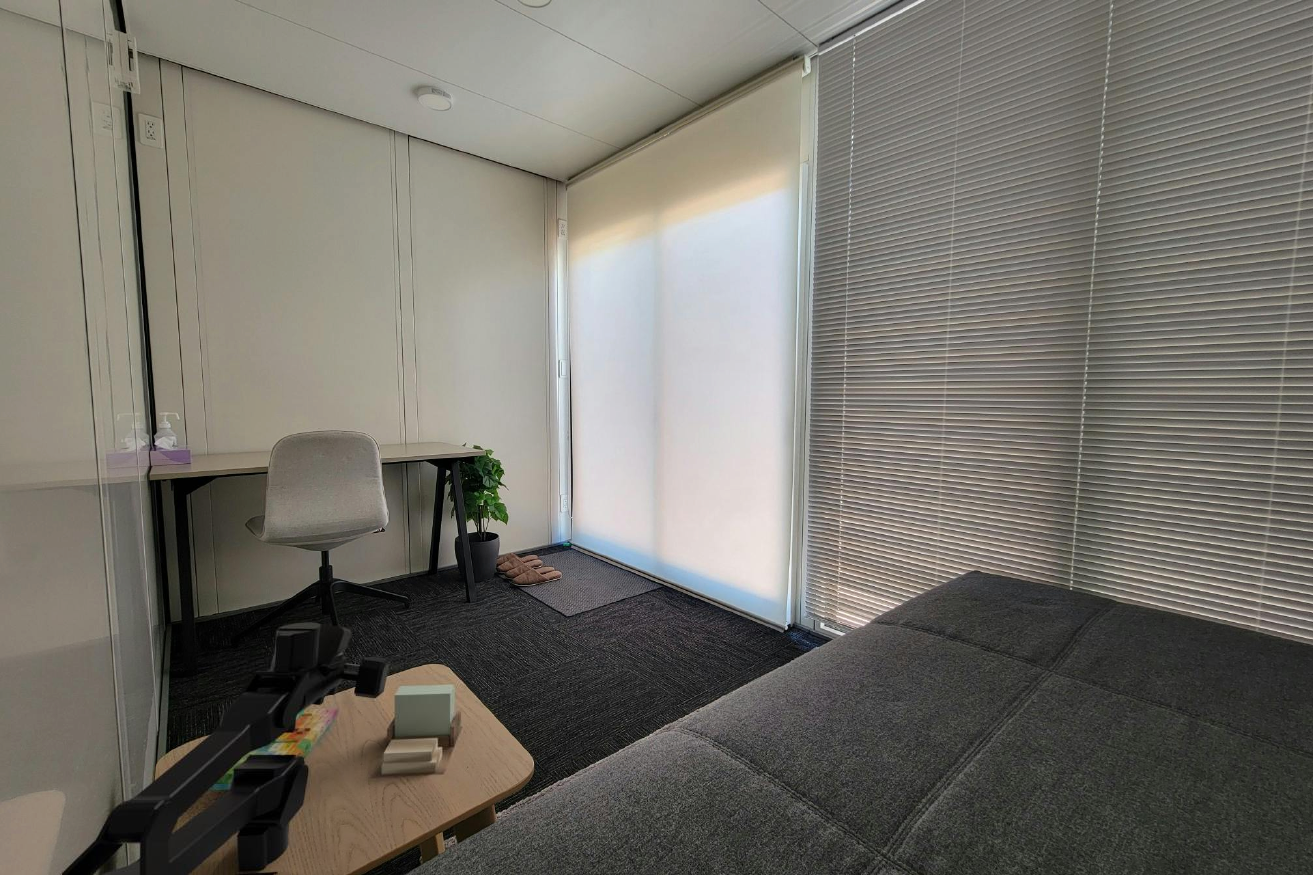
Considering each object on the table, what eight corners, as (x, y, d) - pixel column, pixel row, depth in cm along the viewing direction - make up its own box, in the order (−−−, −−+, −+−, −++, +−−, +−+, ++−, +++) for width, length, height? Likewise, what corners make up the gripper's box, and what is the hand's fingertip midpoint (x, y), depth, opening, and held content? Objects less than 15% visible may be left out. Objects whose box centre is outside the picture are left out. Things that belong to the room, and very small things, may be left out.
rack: (443, 778, 92) (443, 751, 92) (371, 782, 91) (371, 755, 90) (462, 731, 105) (462, 707, 104) (399, 733, 103) (398, 709, 103)
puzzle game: (338, 703, 105) (276, 776, 86) (338, 725, 106) (277, 803, 86) (275, 705, 104) (198, 778, 84) (276, 727, 105) (199, 806, 85)
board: (450, 743, 100) (450, 693, 99) (394, 745, 99) (394, 695, 98) (454, 733, 103) (454, 684, 102) (400, 735, 101) (400, 686, 101)
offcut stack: (435, 771, 92) (435, 752, 92) (381, 774, 91) (381, 755, 91) (442, 756, 96) (442, 737, 96) (390, 758, 95) (390, 739, 95)
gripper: (374, 644, 85) (412, 619, 101) (257, 627, 84) (314, 605, 100) (359, 715, 84) (400, 679, 100) (240, 698, 83) (301, 665, 99)
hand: (354, 655), depth 100 cm, fingers open, 9 cm apart
